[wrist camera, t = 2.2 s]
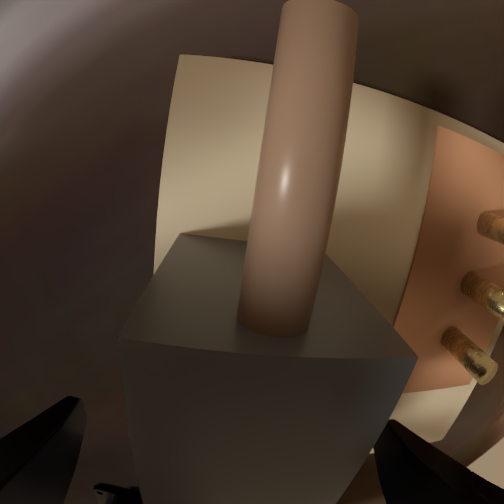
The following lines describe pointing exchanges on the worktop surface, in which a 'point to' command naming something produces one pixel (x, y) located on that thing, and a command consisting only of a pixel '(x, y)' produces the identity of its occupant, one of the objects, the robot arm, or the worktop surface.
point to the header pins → (488, 297)
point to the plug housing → (267, 315)
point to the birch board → (355, 212)
